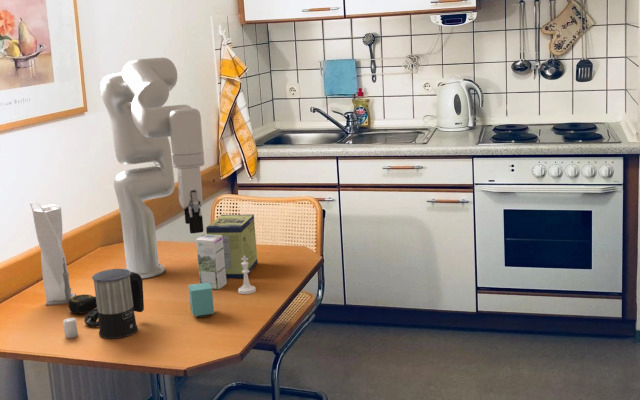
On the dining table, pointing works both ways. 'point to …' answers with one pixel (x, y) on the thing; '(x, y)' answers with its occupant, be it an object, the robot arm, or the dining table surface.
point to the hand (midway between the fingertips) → (194, 227)
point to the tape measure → (82, 303)
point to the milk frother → (116, 302)
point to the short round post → (70, 328)
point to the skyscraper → (52, 254)
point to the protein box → (236, 242)
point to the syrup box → (211, 260)
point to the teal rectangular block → (201, 299)
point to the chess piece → (246, 279)
